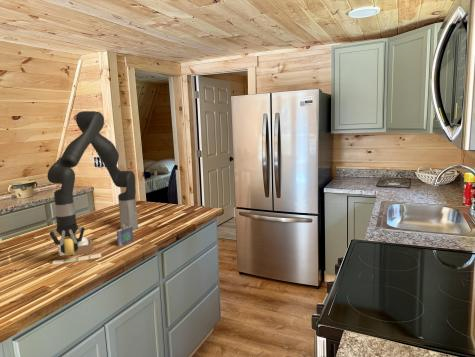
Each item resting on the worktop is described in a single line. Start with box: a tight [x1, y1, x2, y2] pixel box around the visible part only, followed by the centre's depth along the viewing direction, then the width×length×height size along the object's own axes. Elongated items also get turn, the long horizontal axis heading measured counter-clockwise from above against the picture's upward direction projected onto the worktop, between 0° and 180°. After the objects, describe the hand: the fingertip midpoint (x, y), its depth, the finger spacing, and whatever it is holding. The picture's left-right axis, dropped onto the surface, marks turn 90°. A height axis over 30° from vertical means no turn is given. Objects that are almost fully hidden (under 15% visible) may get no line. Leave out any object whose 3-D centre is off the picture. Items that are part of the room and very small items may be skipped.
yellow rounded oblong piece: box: [64, 237, 75, 256], centre depth 148 cm, size 4×4×7 cm
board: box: [51, 239, 102, 266], centre depth 155 cm, size 20×18×5 cm
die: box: [57, 244, 66, 257], centre depth 157 cm, size 4×4×4 cm
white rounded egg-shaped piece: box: [78, 236, 89, 246], centre depth 159 cm, size 5×5×6 cm
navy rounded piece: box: [116, 224, 134, 247], centre depth 168 cm, size 9×3×11 cm, turn 151°
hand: (69, 251), depth 149 cm, fingers closed on yellow rounded oblong piece, 4 cm apart
